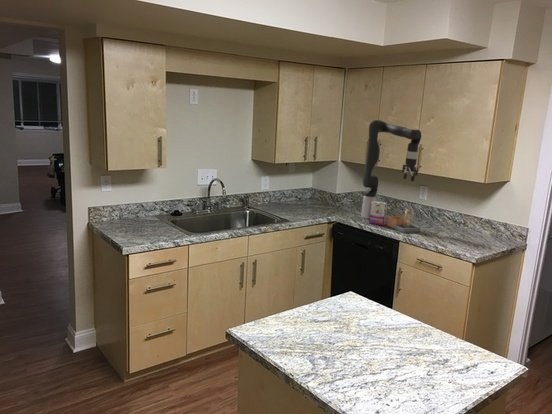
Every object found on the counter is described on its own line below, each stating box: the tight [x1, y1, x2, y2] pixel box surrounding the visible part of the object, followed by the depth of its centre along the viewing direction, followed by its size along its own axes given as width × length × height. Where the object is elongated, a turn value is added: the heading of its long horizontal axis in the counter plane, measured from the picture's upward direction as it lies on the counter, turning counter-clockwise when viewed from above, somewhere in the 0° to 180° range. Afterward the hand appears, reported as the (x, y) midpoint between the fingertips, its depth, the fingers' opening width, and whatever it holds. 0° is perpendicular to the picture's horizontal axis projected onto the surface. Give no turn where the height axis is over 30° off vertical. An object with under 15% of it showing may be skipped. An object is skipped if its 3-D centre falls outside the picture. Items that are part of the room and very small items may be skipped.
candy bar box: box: [368, 200, 388, 226], centre depth 336 cm, size 11×5×16 cm, turn 62°
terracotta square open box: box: [386, 215, 405, 229], centre depth 332 cm, size 10×10×6 cm
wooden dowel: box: [404, 208, 412, 228], centre depth 322 cm, size 4×4×14 cm
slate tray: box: [392, 223, 420, 234], centre depth 323 cm, size 11×14×3 cm
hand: (408, 180), depth 329 cm, fingers open, 8 cm apart
